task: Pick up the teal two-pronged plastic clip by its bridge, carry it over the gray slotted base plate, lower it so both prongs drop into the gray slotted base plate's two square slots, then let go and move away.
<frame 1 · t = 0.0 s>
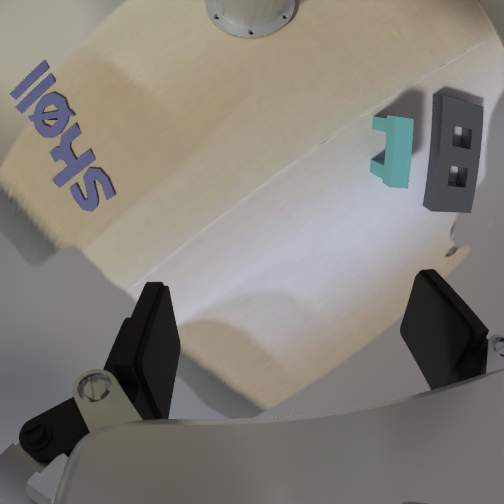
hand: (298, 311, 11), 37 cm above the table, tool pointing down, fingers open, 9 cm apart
clip: (380, 144, 43), on the table
signage: (59, 137, 41), on the table
gray slotted base plate: (450, 153, 44), on the table
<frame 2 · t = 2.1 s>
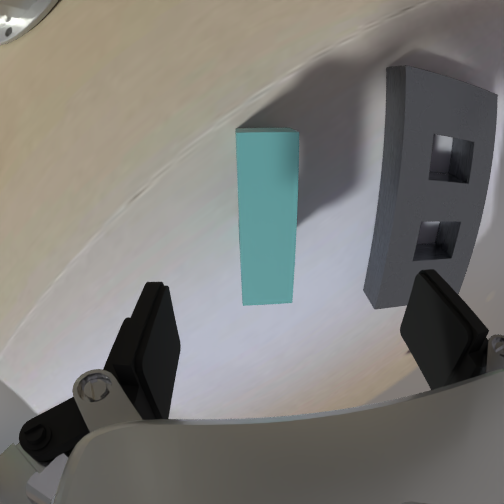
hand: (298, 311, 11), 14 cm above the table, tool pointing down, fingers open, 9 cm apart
clip: (257, 188, 23), on the table
gray slotted base plate: (427, 190, 23), on the table
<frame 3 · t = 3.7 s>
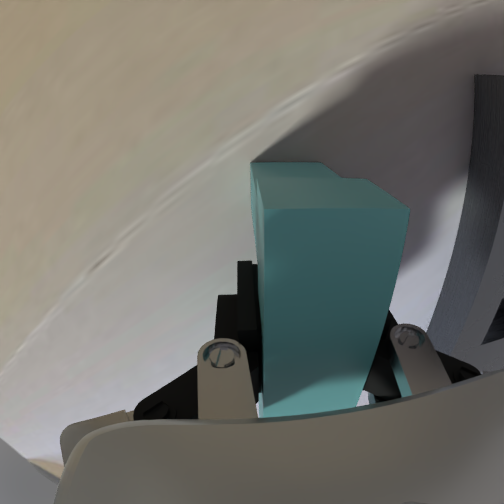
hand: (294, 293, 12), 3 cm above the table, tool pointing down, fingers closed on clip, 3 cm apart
clip: (284, 257, 15), on the table, touching gripper
gray slotted base plate: (503, 247, 15), on the table
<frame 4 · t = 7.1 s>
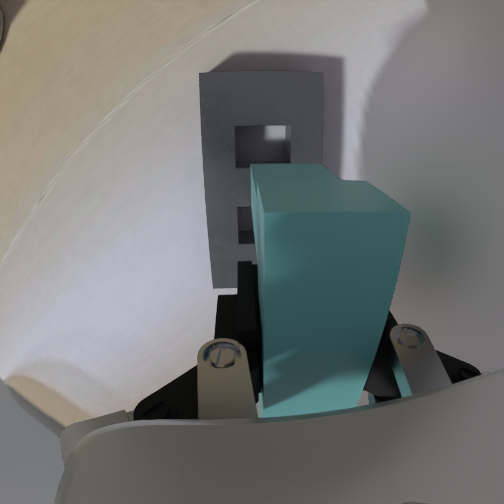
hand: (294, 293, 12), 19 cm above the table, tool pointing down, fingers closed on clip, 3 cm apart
clip: (284, 258, 15), point 16 cm above the table, touching gripper
gray slotted base plate: (261, 179, 29), on the table
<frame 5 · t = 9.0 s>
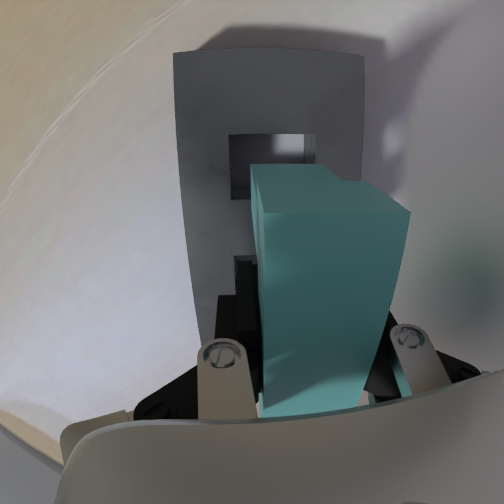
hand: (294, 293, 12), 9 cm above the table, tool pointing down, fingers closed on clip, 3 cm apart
clip: (284, 258, 15), point 6 cm above the table, touching gripper
gray slotted base plate: (267, 210, 20), on the table
when the fingers open (4 cm above the table, at t = 10.6 s): clip drops 1 cm, resting in gray slotted base plate.
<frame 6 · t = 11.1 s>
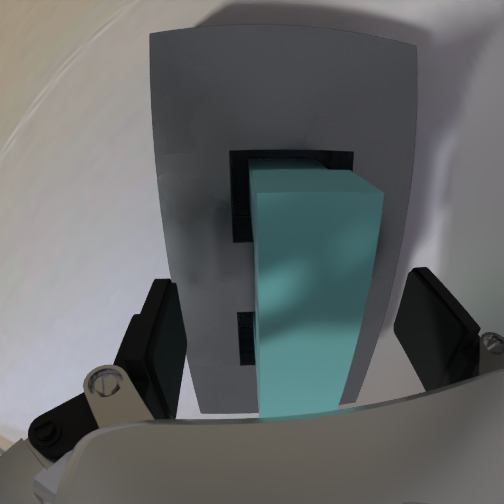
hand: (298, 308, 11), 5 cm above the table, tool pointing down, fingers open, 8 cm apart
clip: (280, 247, 16), resting in gray slotted base plate
gray slotted base plate: (281, 246, 16), on the table
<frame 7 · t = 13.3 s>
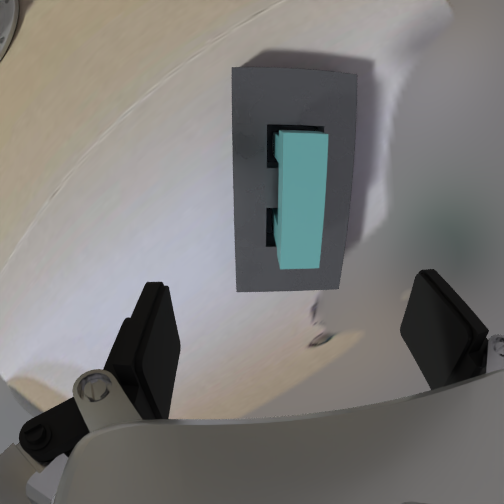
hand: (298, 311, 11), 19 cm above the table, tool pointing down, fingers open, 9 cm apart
clip: (288, 180, 28), resting in gray slotted base plate
gray slotted base plate: (289, 180, 28), on the table
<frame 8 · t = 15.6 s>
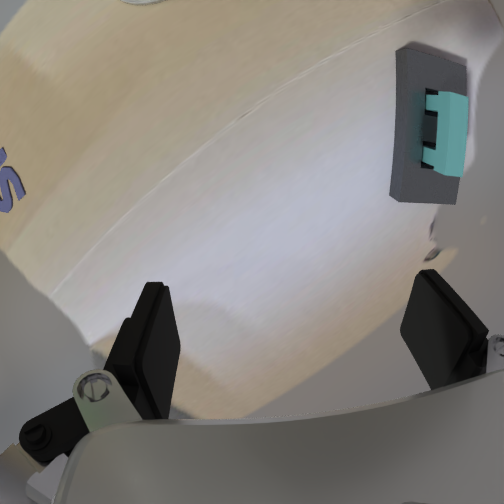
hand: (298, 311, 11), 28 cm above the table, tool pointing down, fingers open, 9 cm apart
clip: (425, 127, 34), resting in gray slotted base plate
gray slotted base plate: (425, 127, 34), on the table
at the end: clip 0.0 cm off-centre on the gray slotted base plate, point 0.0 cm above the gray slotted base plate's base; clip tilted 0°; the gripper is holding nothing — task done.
